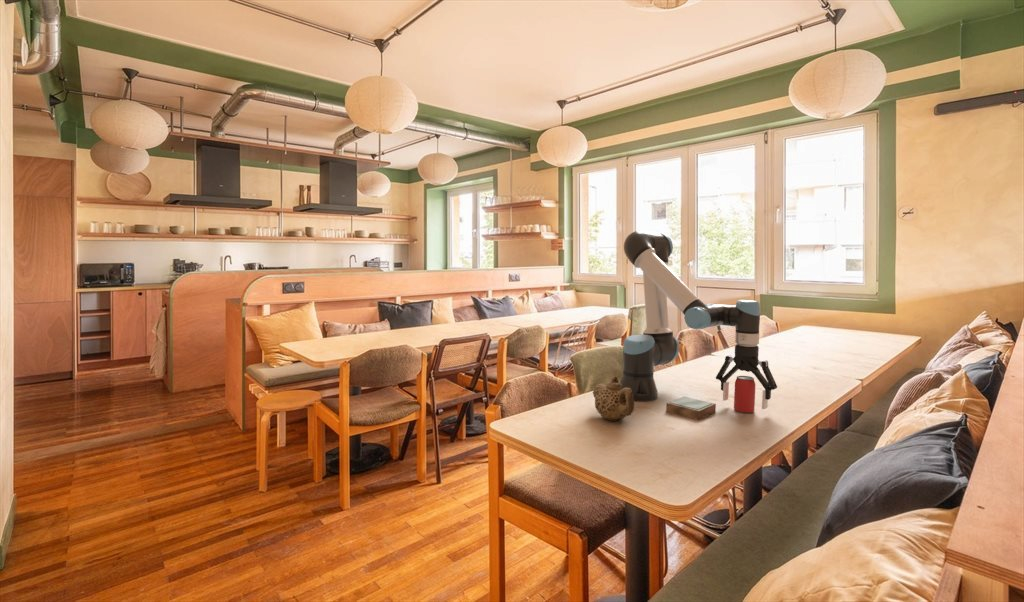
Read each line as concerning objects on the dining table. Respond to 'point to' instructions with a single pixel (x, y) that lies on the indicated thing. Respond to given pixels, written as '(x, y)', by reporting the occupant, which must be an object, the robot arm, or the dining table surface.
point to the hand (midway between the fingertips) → (744, 404)
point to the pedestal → (691, 407)
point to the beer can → (744, 394)
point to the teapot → (613, 400)
